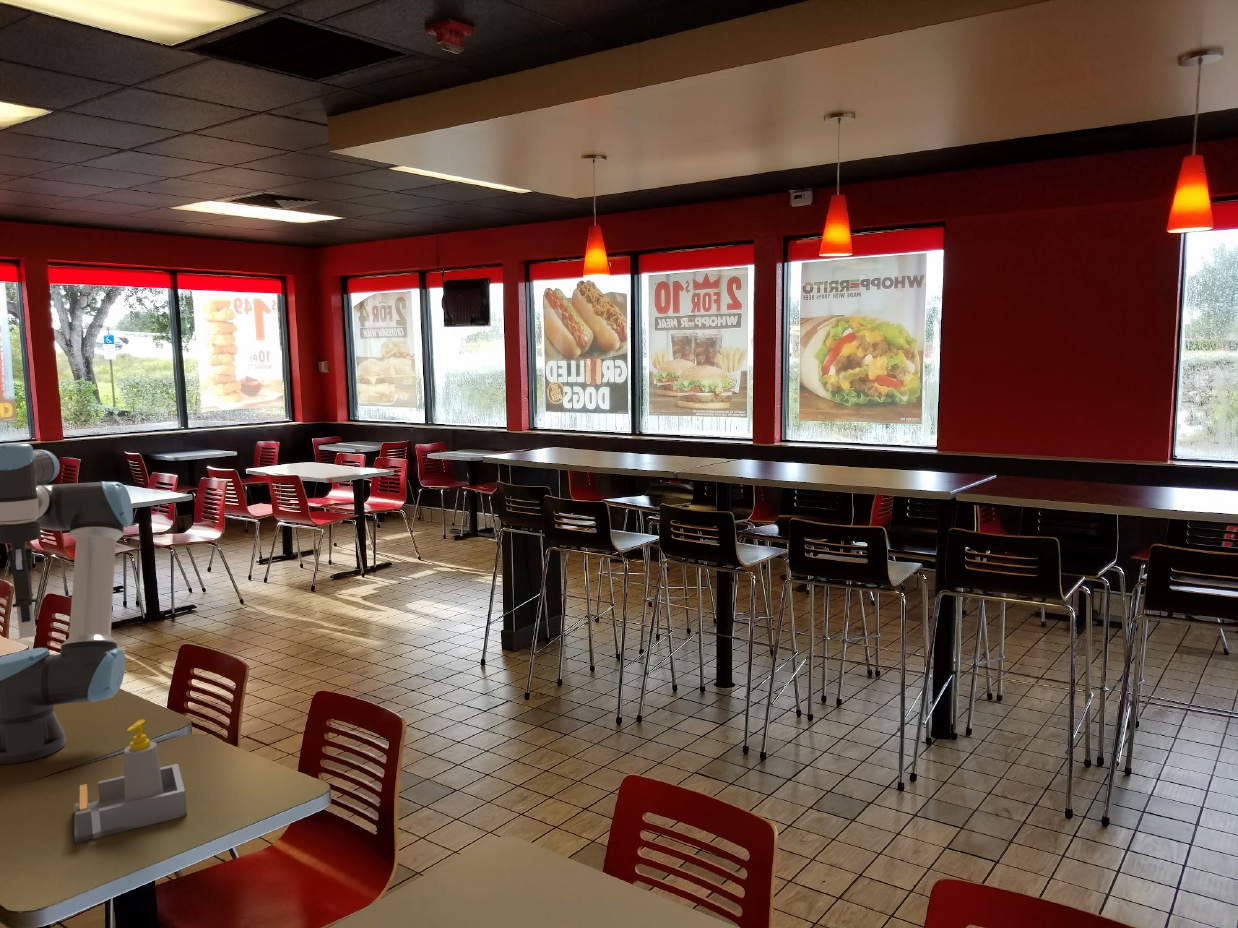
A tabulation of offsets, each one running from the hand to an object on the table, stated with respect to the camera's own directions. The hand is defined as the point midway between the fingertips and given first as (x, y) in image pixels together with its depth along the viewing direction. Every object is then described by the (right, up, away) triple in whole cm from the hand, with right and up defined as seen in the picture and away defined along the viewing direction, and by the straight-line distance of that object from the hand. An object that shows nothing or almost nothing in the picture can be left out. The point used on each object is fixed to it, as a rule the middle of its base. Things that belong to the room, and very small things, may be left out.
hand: (27, 636), depth 178 cm
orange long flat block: (+16, -34, -7) cm, 38 cm away
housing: (+23, -34, -4) cm, 41 cm away
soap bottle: (+27, -33, -5) cm, 43 cm away
